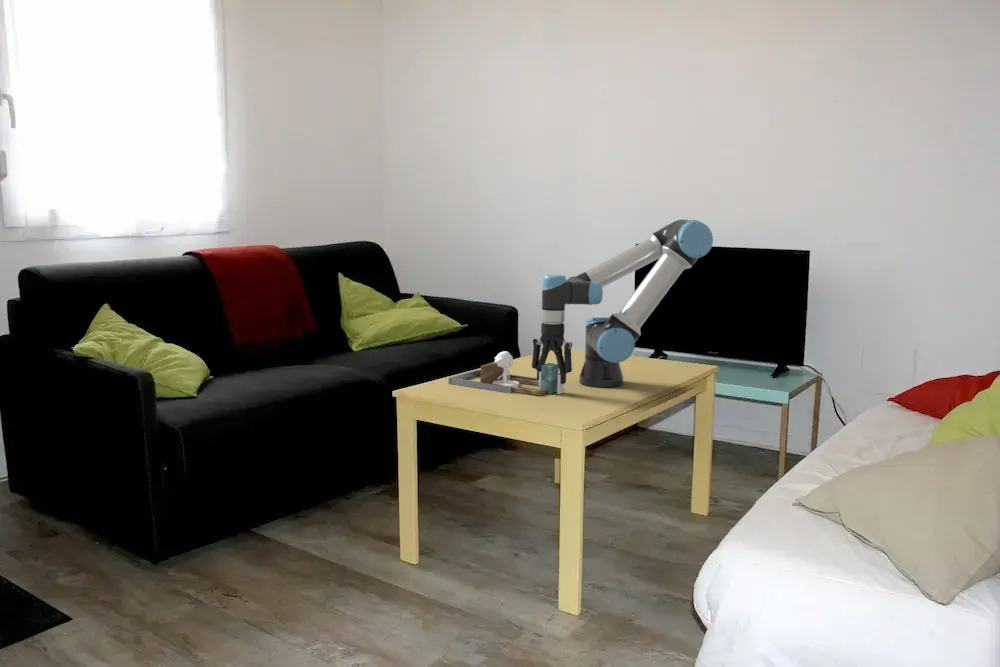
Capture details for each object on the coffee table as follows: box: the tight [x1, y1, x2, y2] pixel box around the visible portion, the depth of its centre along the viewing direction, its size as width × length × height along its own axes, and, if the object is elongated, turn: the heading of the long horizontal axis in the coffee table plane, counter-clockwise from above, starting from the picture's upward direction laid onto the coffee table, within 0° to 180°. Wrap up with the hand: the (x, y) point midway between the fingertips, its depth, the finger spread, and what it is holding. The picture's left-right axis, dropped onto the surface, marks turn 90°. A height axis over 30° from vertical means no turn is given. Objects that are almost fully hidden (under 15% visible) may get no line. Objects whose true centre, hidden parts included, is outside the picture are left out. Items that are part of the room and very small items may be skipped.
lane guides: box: [448, 369, 539, 394], centre depth 297 cm, size 25×17×2 cm
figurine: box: [492, 350, 520, 388], centre depth 294 cm, size 9×9×12 cm
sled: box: [479, 361, 560, 396], centre depth 290 cm, size 25×14×9 cm, turn 57°
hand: (550, 391), depth 285 cm, fingers open, 6 cm apart
